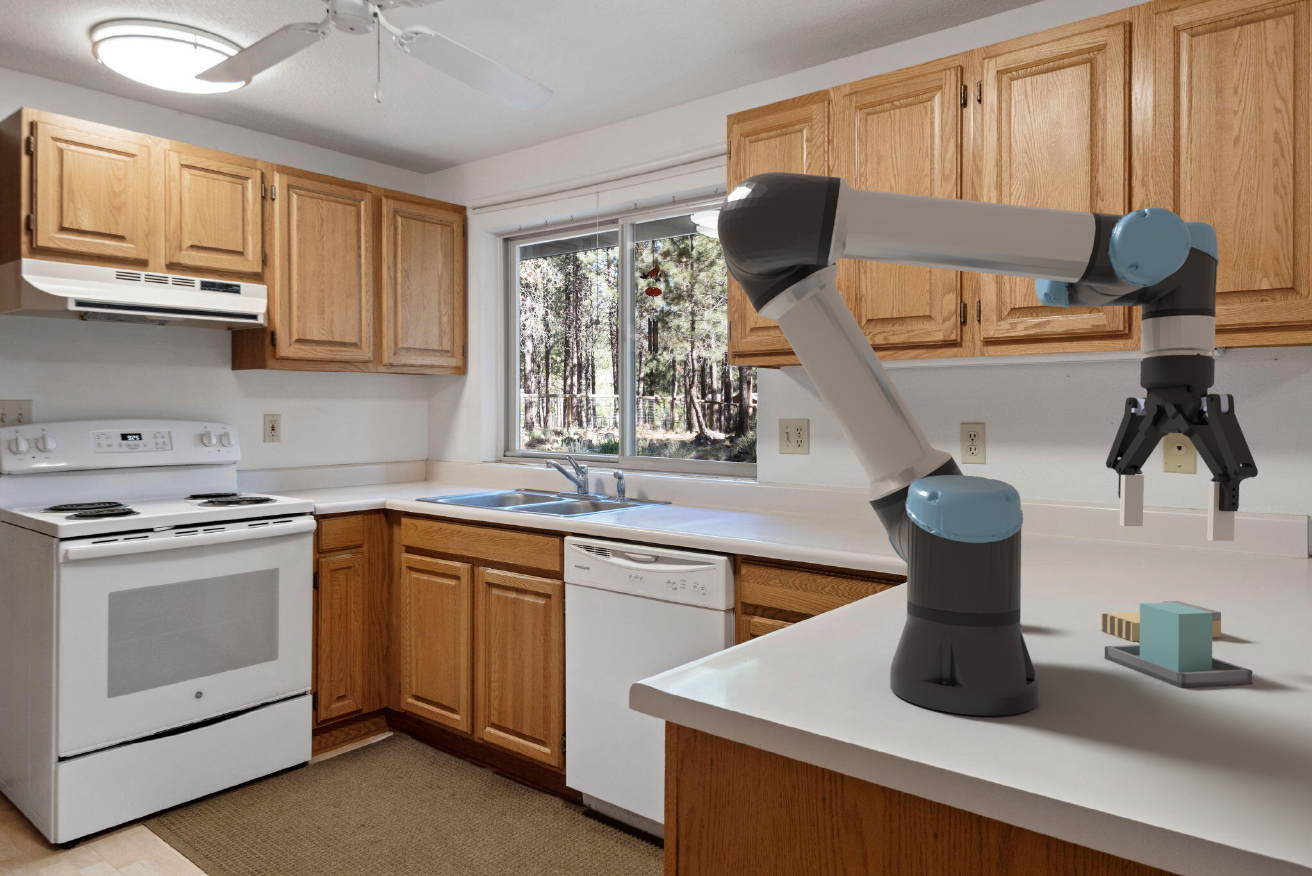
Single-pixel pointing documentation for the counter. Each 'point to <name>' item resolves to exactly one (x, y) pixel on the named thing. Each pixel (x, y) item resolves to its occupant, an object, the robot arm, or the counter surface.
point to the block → (1176, 636)
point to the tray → (1218, 676)
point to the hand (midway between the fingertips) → (1172, 533)
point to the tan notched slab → (1130, 623)
